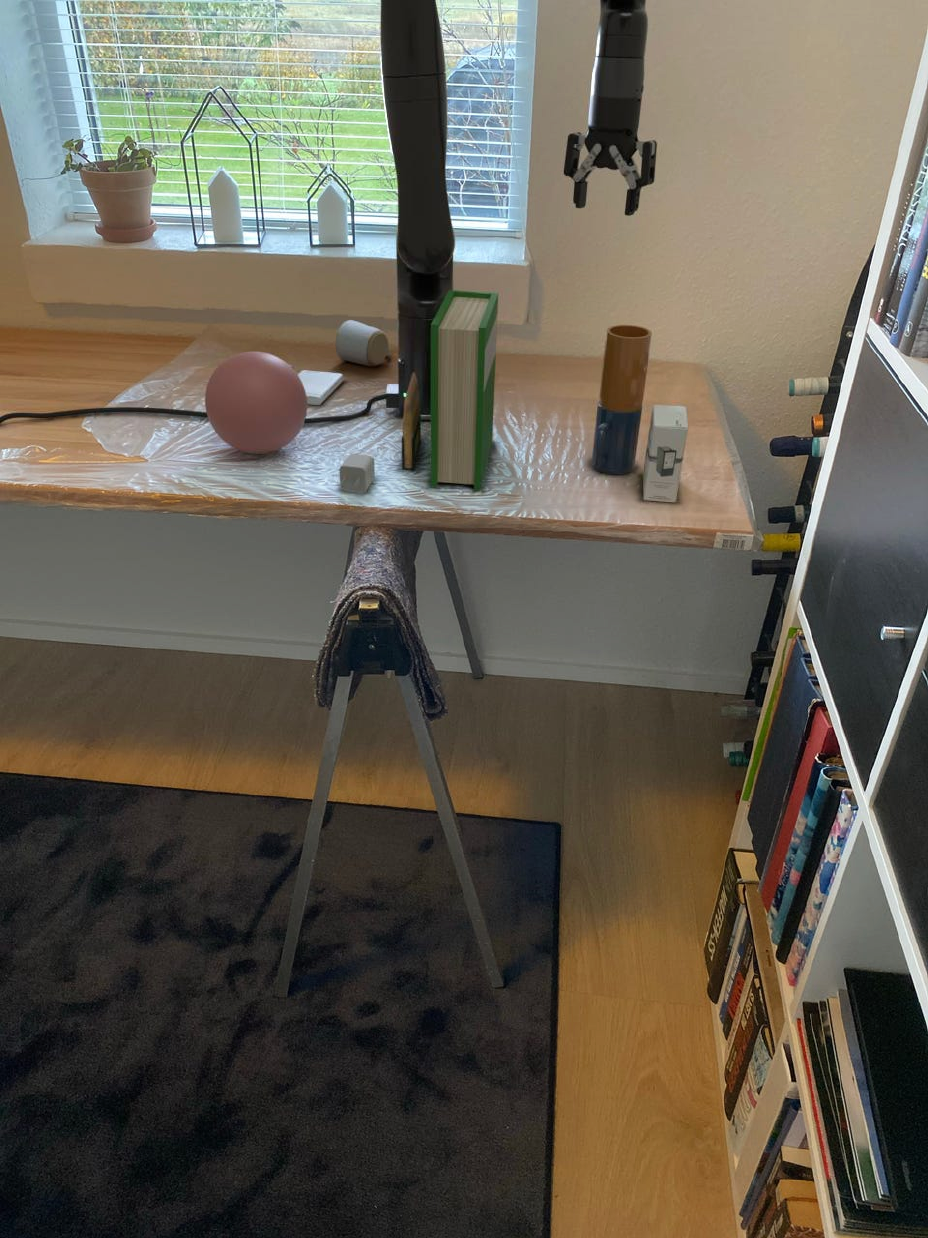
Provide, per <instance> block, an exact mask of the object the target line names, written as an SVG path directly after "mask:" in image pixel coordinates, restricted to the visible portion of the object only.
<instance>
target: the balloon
mask: <svg viewBox="0 0 928 1238" xmlns="http://www.w3.org/2000/svg"><path fill="white" fill-rule="evenodd" d="M204 407H205V412H207V416H208V422H209V423H210V425H211V427H212V429H213V431H214V432H215V433H216V434H217V436H218V437H219V438H220V439H221V440H222V441H223V442H225V443H226V444H227V445H229V446H230V447H232V448H234V449H236V450H238V451H240V452H243V453H247V454H254V455H263V454H264V455H265V454H269V453H270V454H271V453H273V452H277V451H279V450H282V449H283V448H285V447H286V446H287V445H289V444H290V443H291V442H293V440H294V439H295V438H296V437H297V436H298V435H299V433H300V432H301V431H302V428H303V427H304V425H305V424H304V421H305V418H307V413H308V404H307V397H306V392H305V389H304V386H303V384H302V381H301V380H300V378H299V376H298V373H297V371H295V368H294V366H293V365H292V364H288V362H286V361H285V360H283V359H282V358H280V357H278V356H276V355H273V354H271V353H268V352H263V351H244V352H239V353H237V354H234V355H232V356H230V357H228V358H226V359H225V360H223V362H221V363H220V364H219V365H218V366H217V367H216V369H215V370H214V371H213V372H212V374H211V375H210V378H209V380H208V382H207V384H206V389H205V396H204Z"/></svg>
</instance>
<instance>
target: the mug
mask: <svg viewBox="0 0 928 1238" xmlns="http://www.w3.org/2000/svg"><path fill="white" fill-rule="evenodd" d="M596 408H597V409H596V417H595V426H594V437H593V445H592V446H593V447H592V456H591V466H592V468H593V469H594V470H596V471H597V472H600V473H603V474H606V475H613V476H617V475H626V474H629V473H631V472H633V471H634V469H635V464H636V460H637V459H636V458H637V450H638V443H639V435H640V427H641V421H642V412H643V406H642V407H641V409H639V410H637V411H634V412H615V411H610V410H607V409H605V408H603V407H601V406H600V404H599V401H598V402H597V407H596Z"/></svg>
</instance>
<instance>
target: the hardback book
mask: <svg viewBox="0 0 928 1238" xmlns="http://www.w3.org/2000/svg"><path fill="white" fill-rule="evenodd" d="M498 308H499V292H490V291H471V290H455V289H453V290H449V291H448V293H447V295H446V297H445V299H444V301H443V303H442V304H441V306H440V308H439V310H438V312H437V314H436V316H435V318H434V320H433V322H432V323H431V420H430V488H434V489H435V488H436V489H437V488H438V485H439V483H446V484H447V483H449V484H450V483H451V484H459V485H460V484H463V485H473V491H474V492H481V489H482V486H483V482H484V477H485V473H486V469H487V465H488V462H489V458H490V453H491V449H492V445H493V434H494V433H493V431H494V430H493V429H494V410H495V409H494V408H495V407H494V406H495V380H496V379H495V378H496V361H497V360H496V358H497V335H498Z"/></svg>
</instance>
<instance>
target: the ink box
mask: <svg viewBox="0 0 928 1238" xmlns="http://www.w3.org/2000/svg"><path fill="white" fill-rule="evenodd" d="M688 423H689V421H688V412H687V407H686V406H682V405H665V404H653V405H652V410H651V416H650V422H649V428H648V429H649V430H648V437H647V443H646V450H645V456H644V461H643V462H644V463H643V470H642V490H643V491H642V492H643V493H642V494H643V500H644V501H651V502H663V503H673V504H675V503H676V502H677V498H678V490H679V486H680V479H681V473H682V466H683V460H684V454H685V448H686V443H687V436H688V431H689V424H688Z"/></svg>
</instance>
